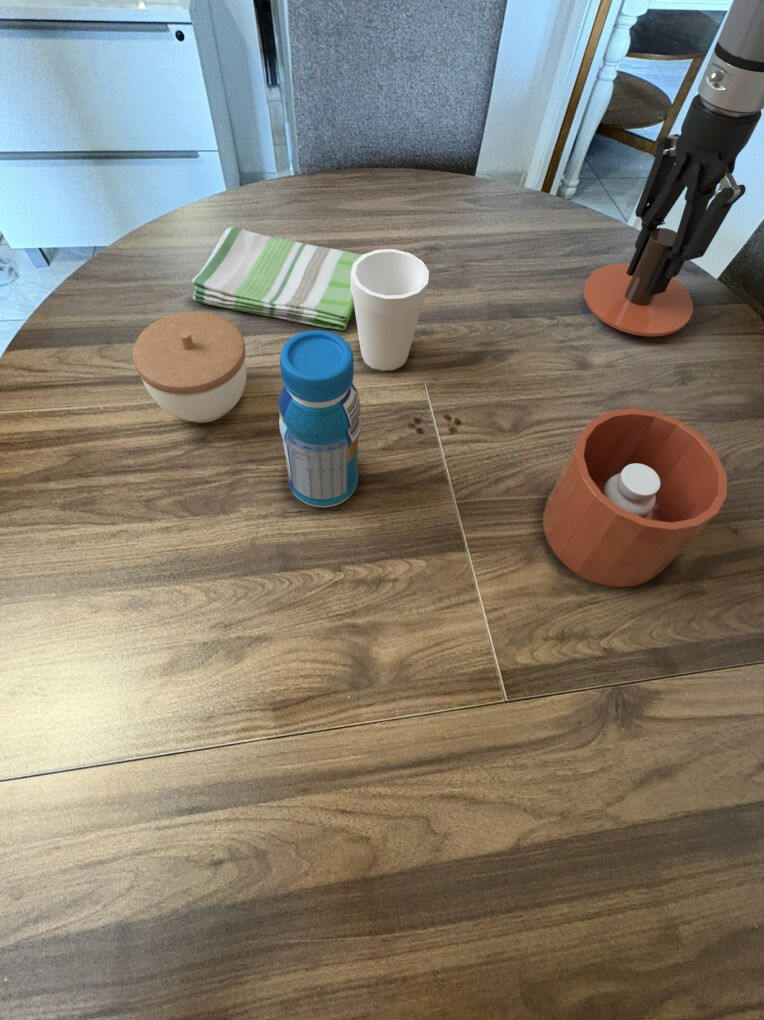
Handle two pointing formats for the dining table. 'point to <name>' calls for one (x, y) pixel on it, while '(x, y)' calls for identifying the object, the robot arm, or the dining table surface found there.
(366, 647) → the dining table surface
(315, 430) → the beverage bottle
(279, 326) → the dining table surface
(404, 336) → the foam cup
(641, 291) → the lid
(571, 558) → the jar
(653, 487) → the supplement bottle
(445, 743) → the dining table surface
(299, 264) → the dish towel
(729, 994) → the dining table surface
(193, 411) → the lidded bowl
